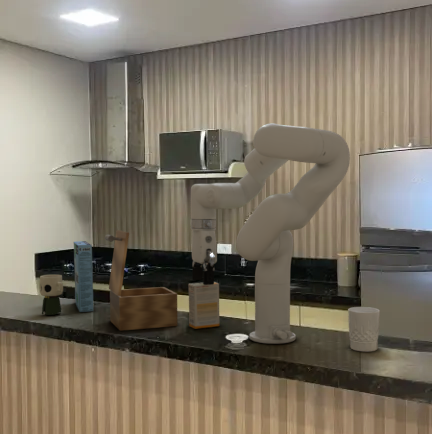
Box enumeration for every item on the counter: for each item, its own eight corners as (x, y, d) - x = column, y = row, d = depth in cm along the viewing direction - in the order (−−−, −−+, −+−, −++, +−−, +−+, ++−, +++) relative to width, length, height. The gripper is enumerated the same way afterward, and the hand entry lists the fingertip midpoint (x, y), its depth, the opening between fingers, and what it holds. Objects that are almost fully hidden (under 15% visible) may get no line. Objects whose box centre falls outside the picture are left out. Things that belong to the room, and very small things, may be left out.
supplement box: (213, 323, 184) (212, 281, 183) (219, 326, 180) (219, 283, 179) (188, 326, 180) (188, 283, 180) (194, 329, 176) (194, 285, 176)
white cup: (346, 344, 157) (346, 306, 157) (376, 345, 156) (377, 307, 156) (349, 352, 149) (350, 312, 149) (382, 352, 149) (382, 312, 148)
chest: (164, 317, 195) (164, 287, 194) (177, 325, 181) (177, 293, 181) (110, 321, 188) (109, 290, 188) (119, 330, 175) (119, 297, 174)
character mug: (32, 314, 199) (31, 275, 199) (49, 311, 205) (48, 273, 205) (54, 318, 193) (53, 278, 193) (71, 314, 199) (70, 275, 198)
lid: (119, 230, 188) (103, 228, 186) (129, 232, 175) (112, 230, 173) (111, 288, 188) (95, 287, 186) (120, 295, 174) (103, 294, 173)
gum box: (93, 311, 204) (92, 244, 203) (78, 312, 203) (77, 245, 202) (88, 302, 223) (87, 240, 222) (74, 303, 221) (73, 241, 220)
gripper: (225, 226, 172) (225, 285, 173) (205, 223, 188) (204, 277, 189) (201, 227, 169) (200, 287, 170) (182, 223, 186) (182, 278, 186)
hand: (202, 282), depth 180 cm, fingers open, 9 cm apart
